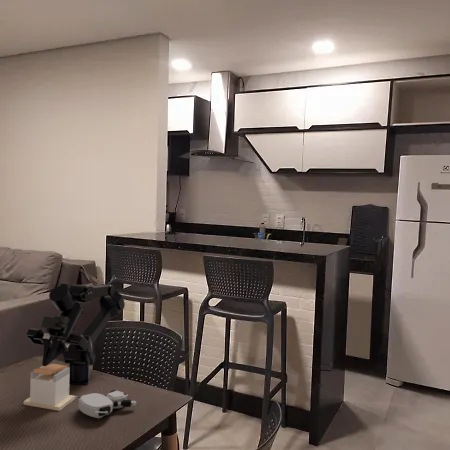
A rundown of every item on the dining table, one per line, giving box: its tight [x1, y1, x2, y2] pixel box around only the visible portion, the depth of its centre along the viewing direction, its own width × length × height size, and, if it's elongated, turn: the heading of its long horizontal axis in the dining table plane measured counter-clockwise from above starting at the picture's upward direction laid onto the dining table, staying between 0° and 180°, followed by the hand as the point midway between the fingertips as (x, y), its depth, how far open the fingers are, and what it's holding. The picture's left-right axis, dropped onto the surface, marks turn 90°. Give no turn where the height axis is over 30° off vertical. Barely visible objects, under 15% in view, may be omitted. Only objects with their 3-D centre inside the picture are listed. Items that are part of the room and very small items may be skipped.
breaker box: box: [23, 365, 76, 412], centre depth 132 cm, size 8×12×10 cm, turn 76°
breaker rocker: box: [33, 363, 68, 375], centre depth 131 cm, size 9×5×2 cm, turn 167°
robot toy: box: [74, 389, 137, 419], centre depth 128 cm, size 12×4×15 cm
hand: (43, 365), depth 128 cm, fingers closed
